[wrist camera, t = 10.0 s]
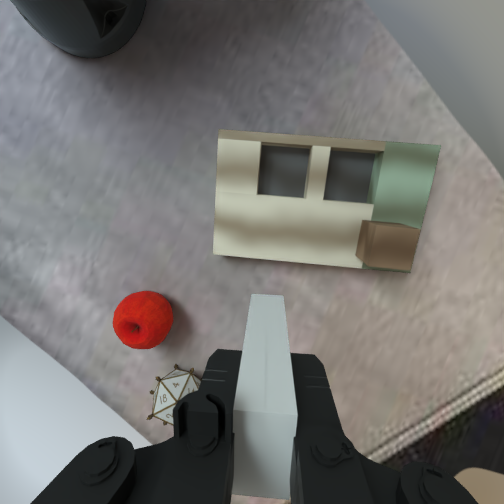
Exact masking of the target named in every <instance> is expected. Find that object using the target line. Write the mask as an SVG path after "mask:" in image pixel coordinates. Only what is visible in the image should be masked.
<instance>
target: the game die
mask: <svg viewBox="0 0 504 504" xmlns="http://www.w3.org/2000/svg"><path fill="white" fill-rule="evenodd" d="M174 367H175V370H174V371H172V372H171V373H169V374H168V375H166V376H165V377H163V378H162V379H160V377H156V380H157V381H159V383H158V385H157V387H156V389H155V391H152V390H151V391H150V394H154V398H153V411H152V414H151V415H149V416H148V418H147V420H150V419H152V417H153V416H154V417H156V418H158V419H160V420H162V421H164V422H163V424H164V425H167V423H169V424H171V425H173V408H174V407H175V405H176V404H177V402H178V401H179V400H180V399H181V398H183V397H184V396H185V395H187V394H189V393H191V392H194V391H197V390H198V389H199V386H200V383H201V380H202V378H201V380H200V379H198V378H197V377H196V376H195V375H194V374H192V373H193V371H194V368H192V369H191V370H190V372H187V371H183V370H179V369H177V368H178V365H176V364H175V366H174Z"/></svg>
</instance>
